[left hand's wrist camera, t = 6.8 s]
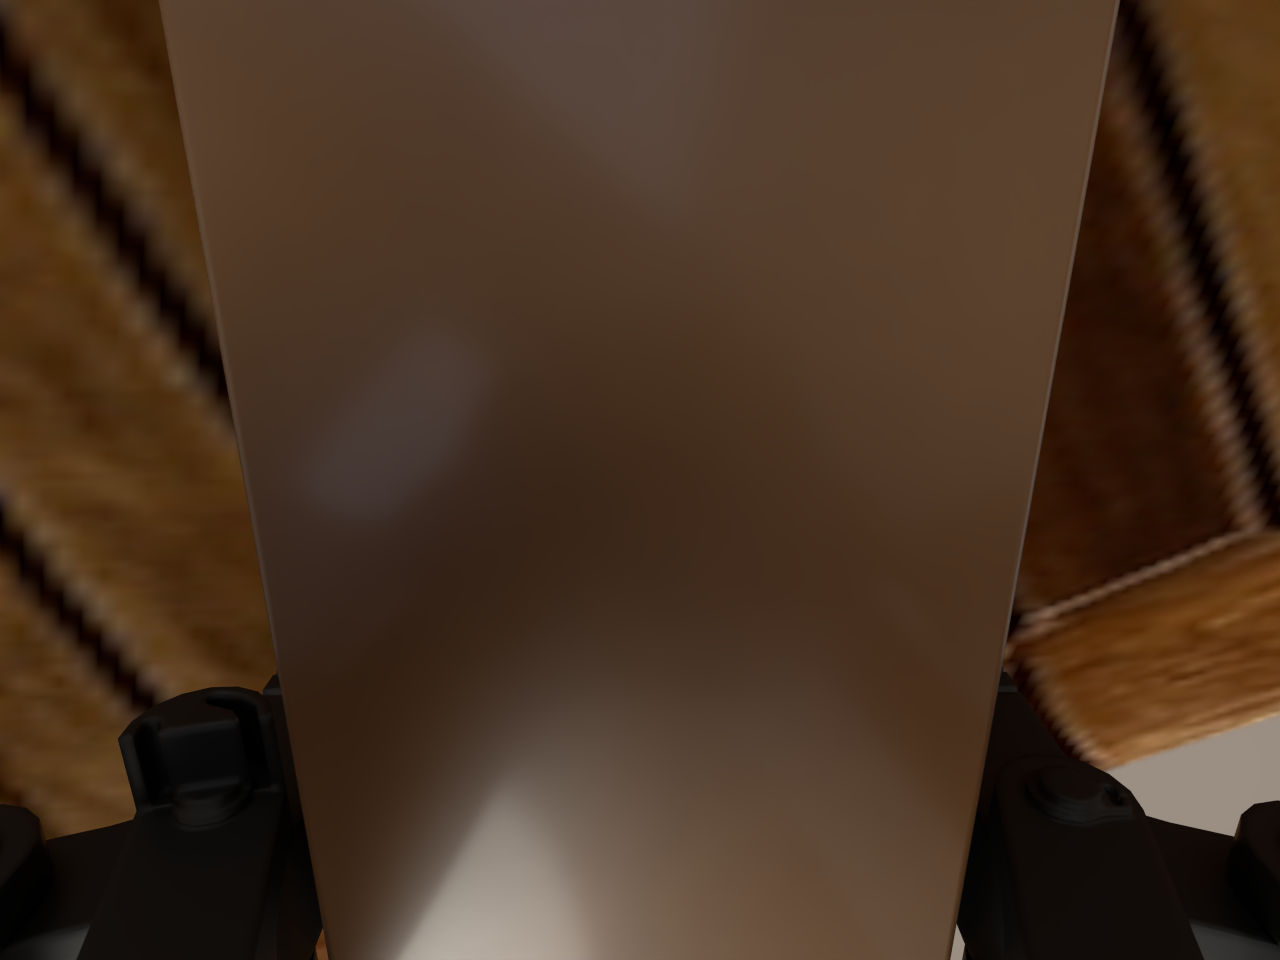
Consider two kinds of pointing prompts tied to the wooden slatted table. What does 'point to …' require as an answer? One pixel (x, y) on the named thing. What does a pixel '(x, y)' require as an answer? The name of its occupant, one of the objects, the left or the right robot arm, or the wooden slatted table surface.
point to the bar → (639, 445)
